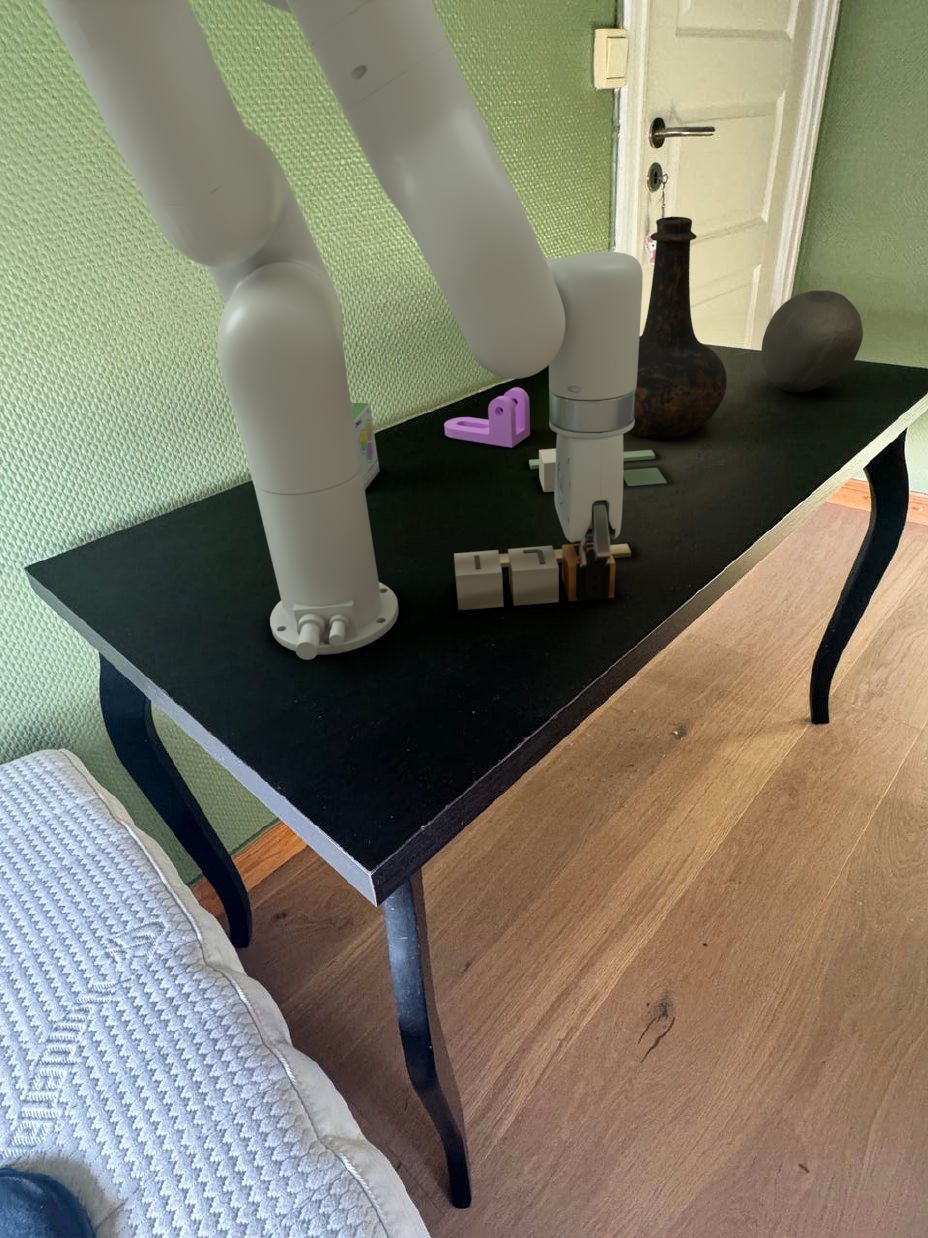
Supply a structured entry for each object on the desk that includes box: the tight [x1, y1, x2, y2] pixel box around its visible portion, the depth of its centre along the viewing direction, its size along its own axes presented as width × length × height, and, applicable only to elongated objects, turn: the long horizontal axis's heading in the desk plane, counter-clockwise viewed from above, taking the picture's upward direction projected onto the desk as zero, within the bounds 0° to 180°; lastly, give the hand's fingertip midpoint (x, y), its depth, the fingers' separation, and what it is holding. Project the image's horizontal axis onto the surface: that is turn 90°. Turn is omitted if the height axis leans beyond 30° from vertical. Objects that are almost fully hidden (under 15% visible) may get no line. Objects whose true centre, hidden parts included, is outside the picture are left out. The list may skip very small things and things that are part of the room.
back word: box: [528, 448, 668, 493], centre depth 100 cm, size 10×17×4 cm, turn 93°
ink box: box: [351, 402, 380, 491], centre depth 100 cm, size 7×4×13 cm, turn 168°
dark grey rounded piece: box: [760, 290, 864, 393], centre depth 118 cm, size 14×14×15 cm
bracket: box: [443, 386, 531, 449], centre depth 114 cm, size 13×6×7 cm, turn 58°
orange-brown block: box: [561, 542, 616, 602], centre depth 76 cm, size 4×4×4 cm
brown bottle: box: [627, 216, 728, 439], centre depth 106 cm, size 18×18×28 cm
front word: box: [453, 543, 632, 611], centre depth 79 cm, size 10×19×4 cm, turn 93°
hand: (587, 583), depth 77 cm, fingers closed on orange-brown block, 4 cm apart
